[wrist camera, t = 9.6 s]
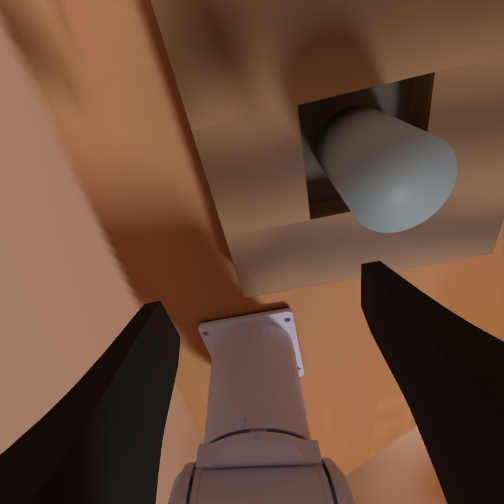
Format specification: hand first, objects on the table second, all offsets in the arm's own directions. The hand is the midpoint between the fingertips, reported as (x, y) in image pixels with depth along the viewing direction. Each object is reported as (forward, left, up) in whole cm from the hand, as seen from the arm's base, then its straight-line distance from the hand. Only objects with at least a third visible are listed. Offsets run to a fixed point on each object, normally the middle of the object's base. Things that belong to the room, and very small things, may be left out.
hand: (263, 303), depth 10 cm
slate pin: (+2, -6, -9) cm, 11 cm away
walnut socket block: (+2, -6, -9) cm, 11 cm away
